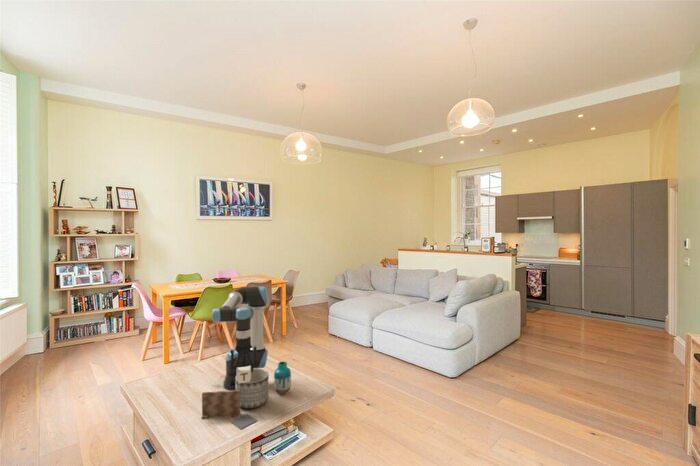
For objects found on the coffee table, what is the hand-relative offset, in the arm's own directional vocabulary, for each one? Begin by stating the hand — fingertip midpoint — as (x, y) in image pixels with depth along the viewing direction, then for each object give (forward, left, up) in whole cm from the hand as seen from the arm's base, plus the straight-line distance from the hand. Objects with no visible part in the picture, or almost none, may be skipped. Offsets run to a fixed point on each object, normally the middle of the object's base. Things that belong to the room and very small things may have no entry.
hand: (243, 379), depth 177 cm
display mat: (0, 0, -23) cm, 23 cm away
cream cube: (0, 0, 0) cm, 0 cm away
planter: (-13, +14, -23) cm, 30 cm away
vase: (-8, +33, -23) cm, 41 cm away
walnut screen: (-16, -4, -23) cm, 29 cm away
